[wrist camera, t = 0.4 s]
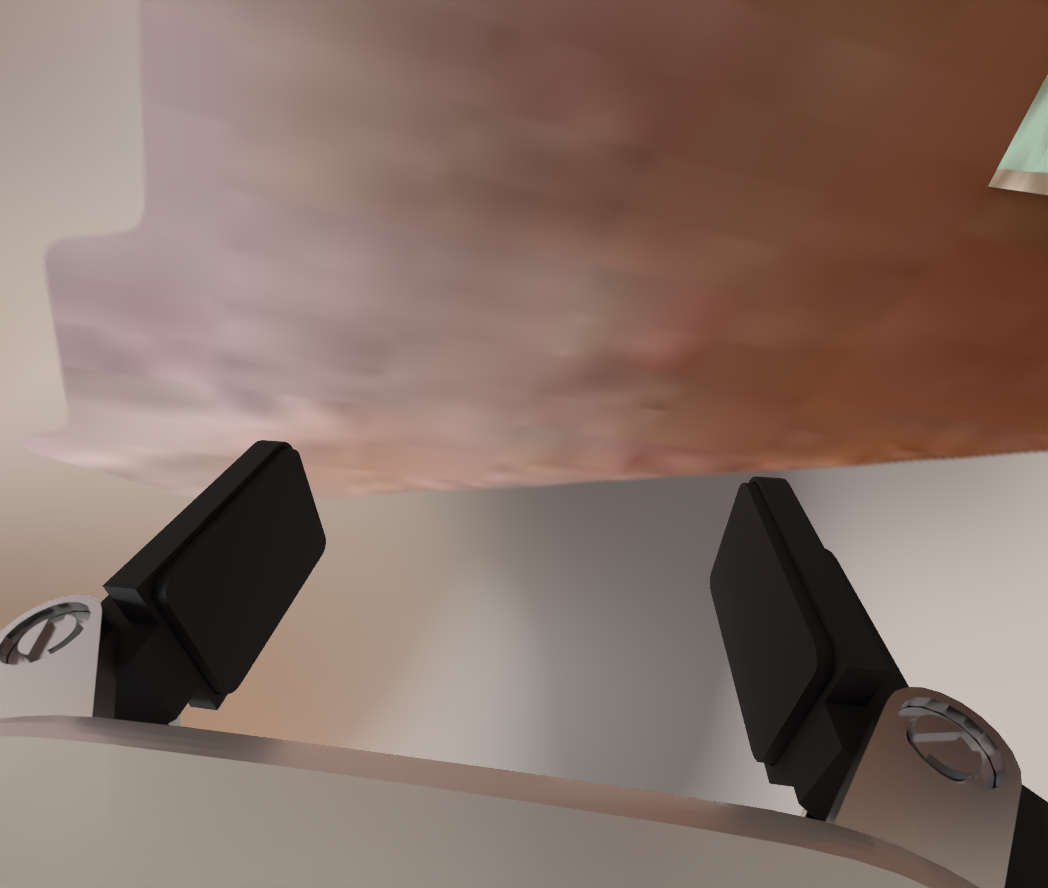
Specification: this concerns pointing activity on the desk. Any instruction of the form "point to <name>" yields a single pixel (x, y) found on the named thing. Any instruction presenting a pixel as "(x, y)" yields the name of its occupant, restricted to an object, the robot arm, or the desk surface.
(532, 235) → the desk surface
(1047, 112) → the board
